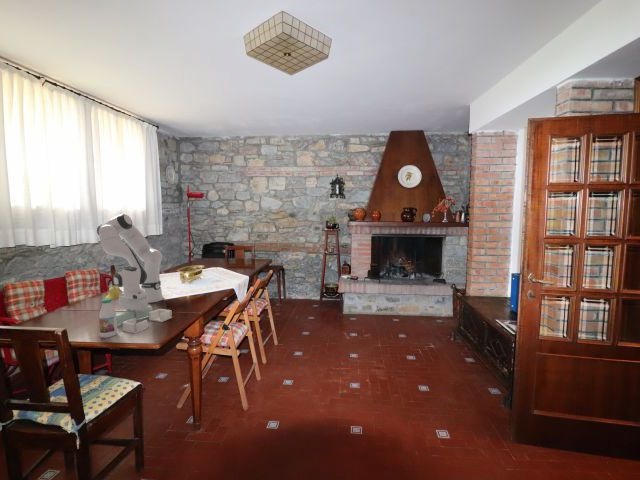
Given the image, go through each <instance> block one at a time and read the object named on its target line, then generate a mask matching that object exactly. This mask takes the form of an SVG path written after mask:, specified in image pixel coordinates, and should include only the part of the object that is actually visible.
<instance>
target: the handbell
mask: <svg viewBox="0 0 640 480" xmlns="http://www.w3.org/2000/svg"><path fill="white" fill-rule="evenodd" d="M116 271H117V269H116V266H115V264H111V265H110V270H109V273H110V276H111V282H112V283H111V287H110V288H108V294H107V295H106V296H105V298H104V299H106V298H111V299H112V300H115V299H119V295H120V294H121V293H122V292H120V287H117V286H115V285H114V283H113V276H114V275H115V274H116V273H117V272H116Z"/></svg>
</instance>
